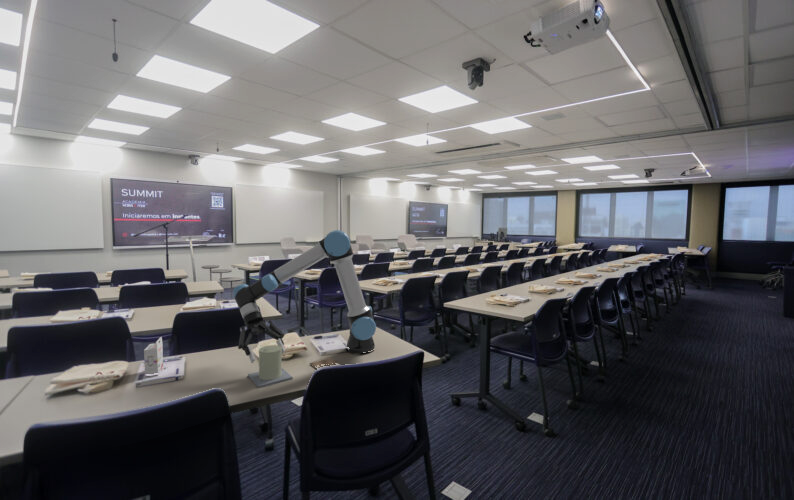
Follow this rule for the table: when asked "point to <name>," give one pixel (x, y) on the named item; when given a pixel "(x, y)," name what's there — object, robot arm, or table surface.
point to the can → (270, 362)
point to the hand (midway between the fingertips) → (269, 356)
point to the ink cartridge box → (154, 357)
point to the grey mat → (262, 383)
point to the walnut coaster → (324, 362)
